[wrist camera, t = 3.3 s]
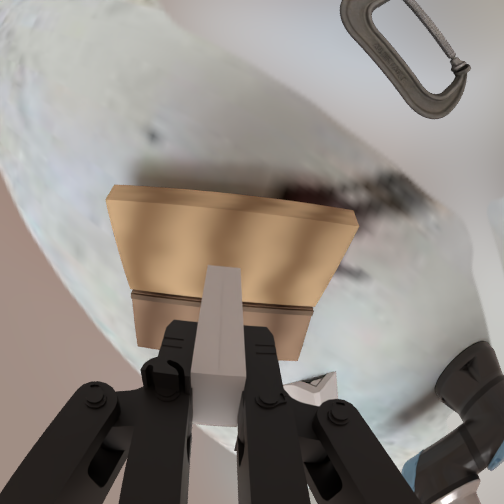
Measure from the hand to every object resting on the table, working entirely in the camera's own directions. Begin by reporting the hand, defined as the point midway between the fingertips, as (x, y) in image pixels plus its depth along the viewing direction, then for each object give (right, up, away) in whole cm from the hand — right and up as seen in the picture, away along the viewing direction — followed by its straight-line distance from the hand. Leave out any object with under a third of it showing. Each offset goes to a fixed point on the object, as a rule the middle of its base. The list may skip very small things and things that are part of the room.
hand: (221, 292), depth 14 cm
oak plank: (-1, +2, +13) cm, 13 cm away
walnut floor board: (-2, -6, +20) cm, 21 cm away
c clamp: (+20, +27, +8) cm, 35 cm away
